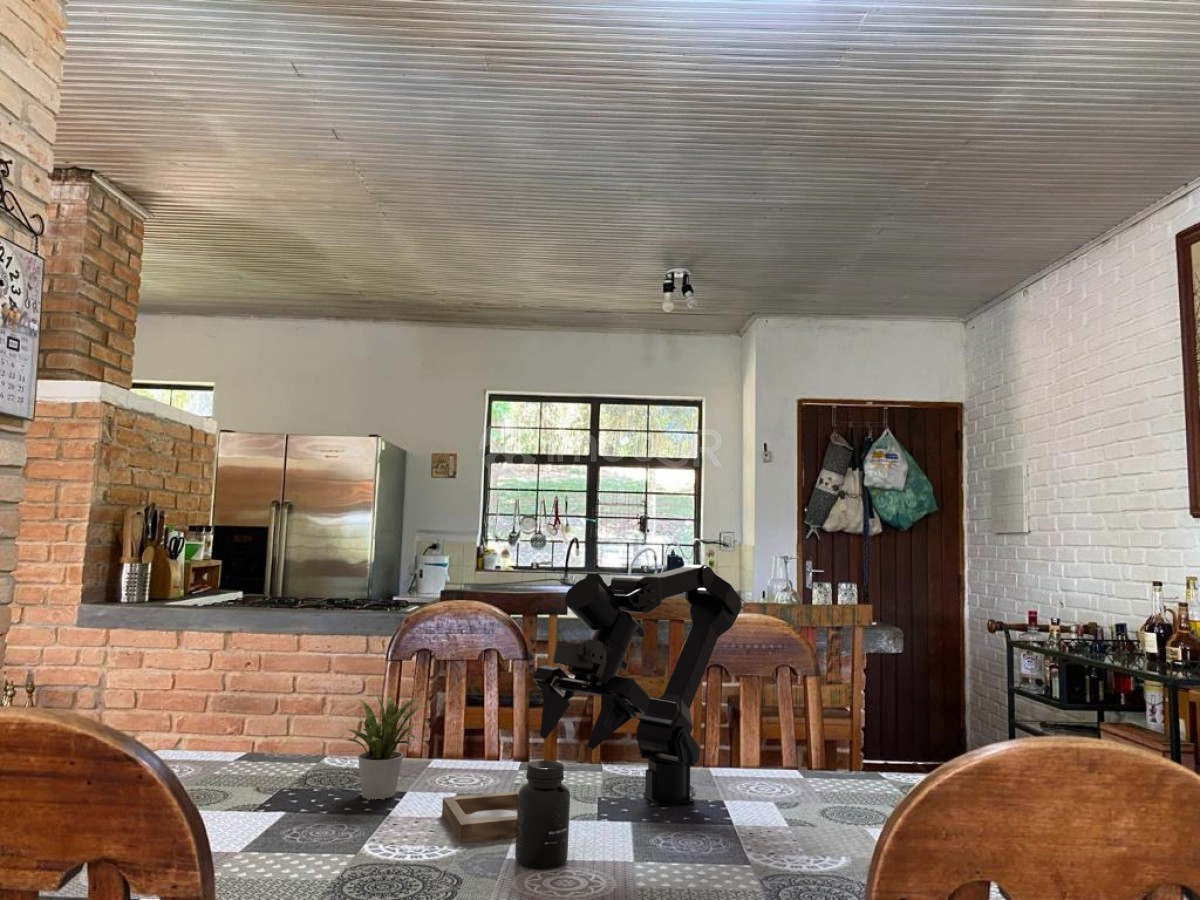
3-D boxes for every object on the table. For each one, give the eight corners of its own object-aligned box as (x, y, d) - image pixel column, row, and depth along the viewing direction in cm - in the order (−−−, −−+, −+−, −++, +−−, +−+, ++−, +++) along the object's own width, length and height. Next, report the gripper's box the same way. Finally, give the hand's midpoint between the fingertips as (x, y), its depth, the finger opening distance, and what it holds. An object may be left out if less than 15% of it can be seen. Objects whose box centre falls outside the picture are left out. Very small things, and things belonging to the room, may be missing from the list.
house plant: (444, 786, 134) (449, 687, 137) (411, 811, 121) (417, 700, 123) (365, 780, 137) (372, 682, 139) (324, 803, 123) (332, 695, 126)
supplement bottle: (560, 874, 98) (563, 772, 100) (507, 868, 100) (511, 768, 101) (573, 854, 105) (576, 759, 107) (523, 849, 106) (527, 756, 108)
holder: (524, 806, 125) (525, 790, 125) (551, 833, 113) (551, 815, 113) (442, 814, 120) (442, 797, 120) (460, 843, 108) (461, 824, 108)
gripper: (535, 613, 123) (488, 705, 114) (630, 622, 111) (584, 725, 102) (574, 652, 129) (531, 742, 120) (667, 664, 117) (627, 765, 108)
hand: (565, 742), depth 113 cm, fingers open, 9 cm apart
